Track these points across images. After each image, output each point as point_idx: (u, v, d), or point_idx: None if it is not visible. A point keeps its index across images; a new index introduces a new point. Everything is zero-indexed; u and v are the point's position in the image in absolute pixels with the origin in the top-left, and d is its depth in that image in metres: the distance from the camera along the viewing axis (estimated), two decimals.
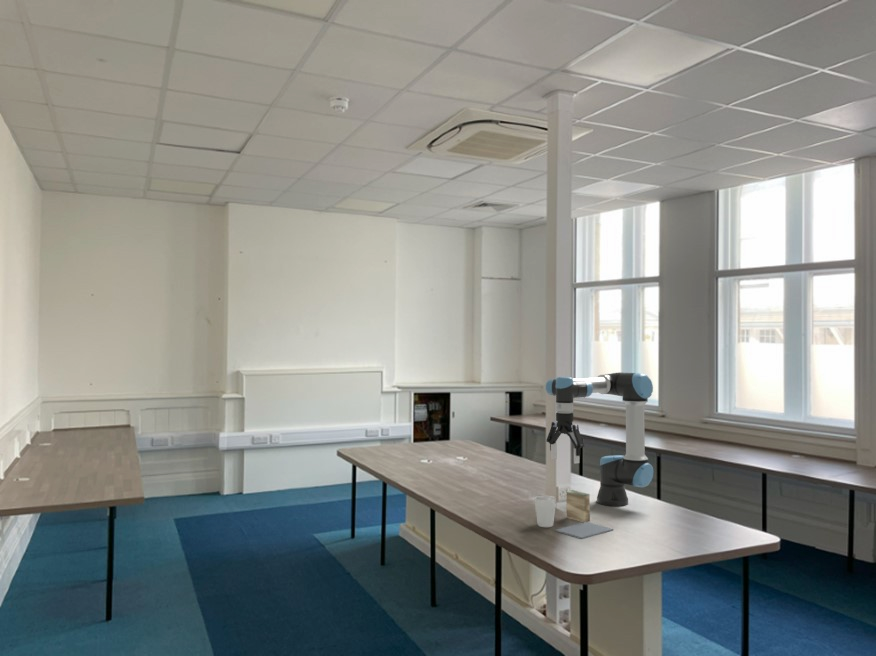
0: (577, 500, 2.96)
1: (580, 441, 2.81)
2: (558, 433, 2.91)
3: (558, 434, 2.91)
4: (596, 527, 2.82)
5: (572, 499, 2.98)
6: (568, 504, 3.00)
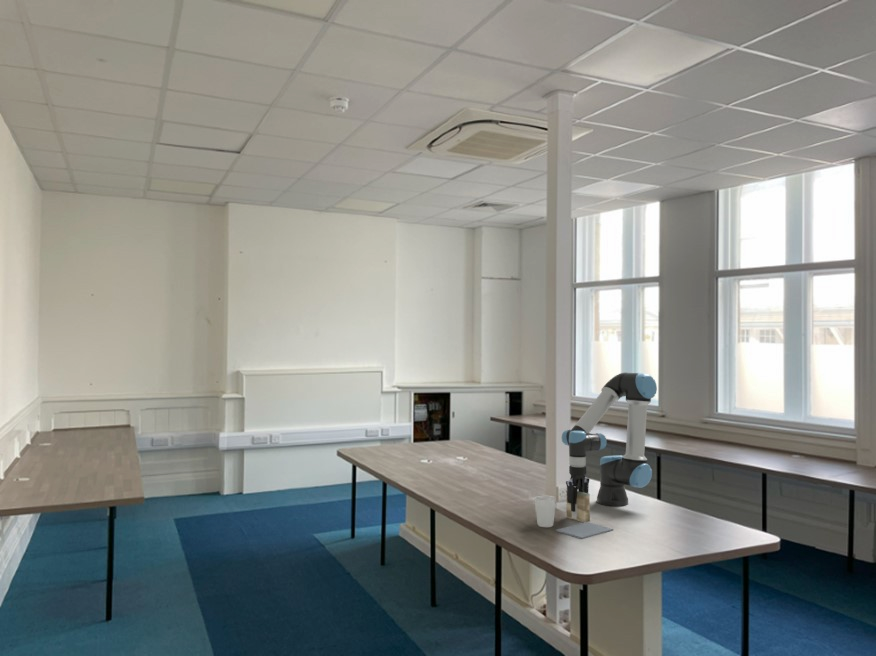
0: (577, 500, 2.96)
1: (568, 498, 2.95)
2: (578, 487, 2.99)
3: (579, 488, 2.99)
4: (596, 527, 2.82)
5: None
6: (568, 504, 3.00)
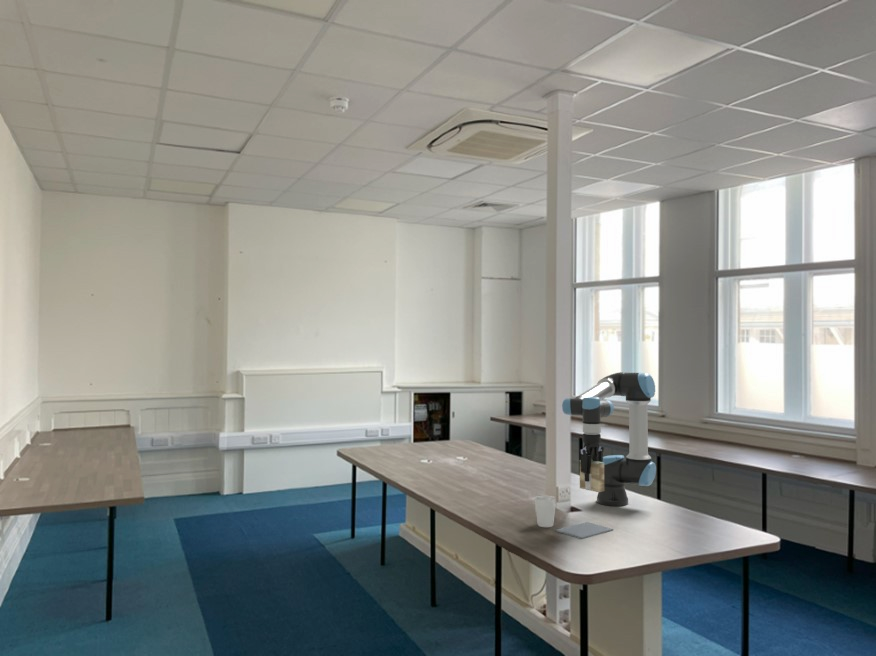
0: (591, 469, 2.80)
1: (582, 467, 2.80)
2: (592, 456, 2.84)
3: (593, 457, 2.84)
4: (596, 527, 2.82)
5: None
6: (581, 474, 2.85)
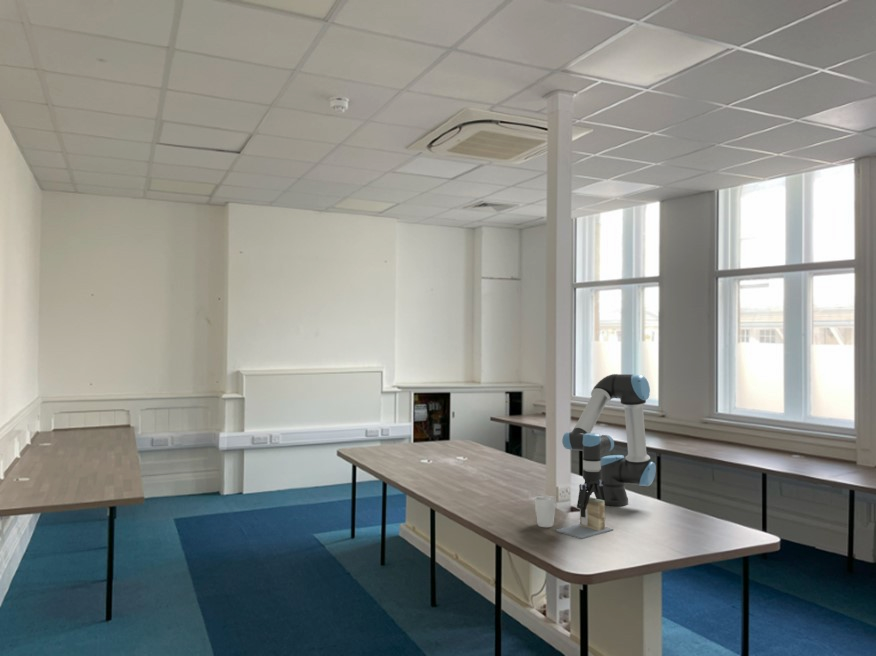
0: (591, 507, 2.80)
1: (579, 502, 2.78)
2: (594, 492, 2.85)
3: (595, 493, 2.84)
4: None
5: None
6: None
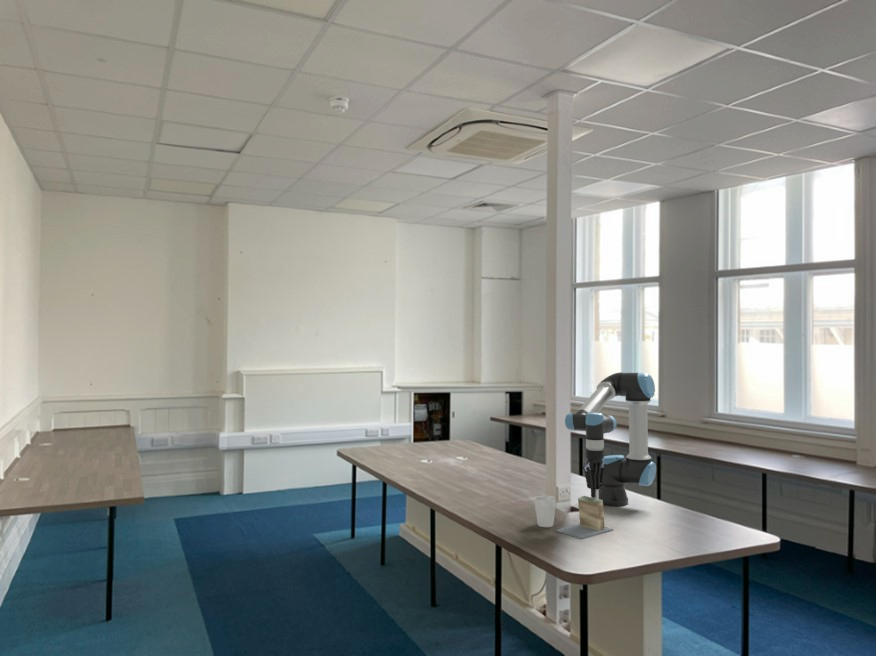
0: (590, 508, 2.80)
1: (588, 483, 2.82)
2: None
3: (595, 473, 2.84)
4: None
5: (585, 506, 2.82)
6: (581, 511, 2.84)
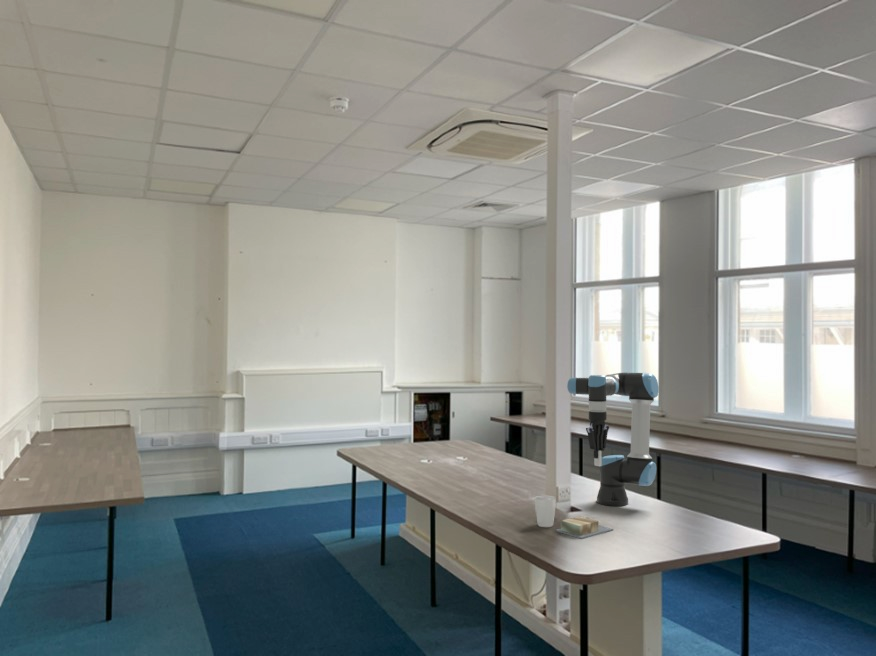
0: None
1: (591, 444, 2.83)
2: None
3: None
4: None
5: None
6: None
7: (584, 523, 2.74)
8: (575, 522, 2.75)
